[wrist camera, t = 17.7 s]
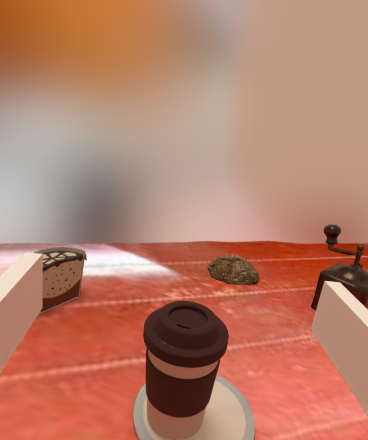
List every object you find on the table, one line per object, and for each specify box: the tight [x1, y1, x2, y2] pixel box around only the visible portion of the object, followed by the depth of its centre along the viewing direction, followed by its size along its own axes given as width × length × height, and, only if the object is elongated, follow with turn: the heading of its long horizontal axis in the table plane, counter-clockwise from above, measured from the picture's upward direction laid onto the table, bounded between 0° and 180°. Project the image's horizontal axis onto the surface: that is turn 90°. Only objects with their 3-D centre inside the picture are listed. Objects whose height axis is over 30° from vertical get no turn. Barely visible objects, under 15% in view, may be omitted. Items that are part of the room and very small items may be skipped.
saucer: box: [133, 375, 255, 440], centre depth 44 cm, size 16×16×1 cm
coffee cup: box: [143, 301, 229, 440], centre depth 41 cm, size 10×10×15 cm
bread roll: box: [208, 255, 259, 285], centre depth 87 cm, size 13×12×5 cm
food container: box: [34, 247, 87, 315], centre depth 64 cm, size 12×6×10 cm, turn 145°
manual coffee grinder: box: [311, 225, 368, 310], centre depth 75 cm, size 16×11×18 cm
